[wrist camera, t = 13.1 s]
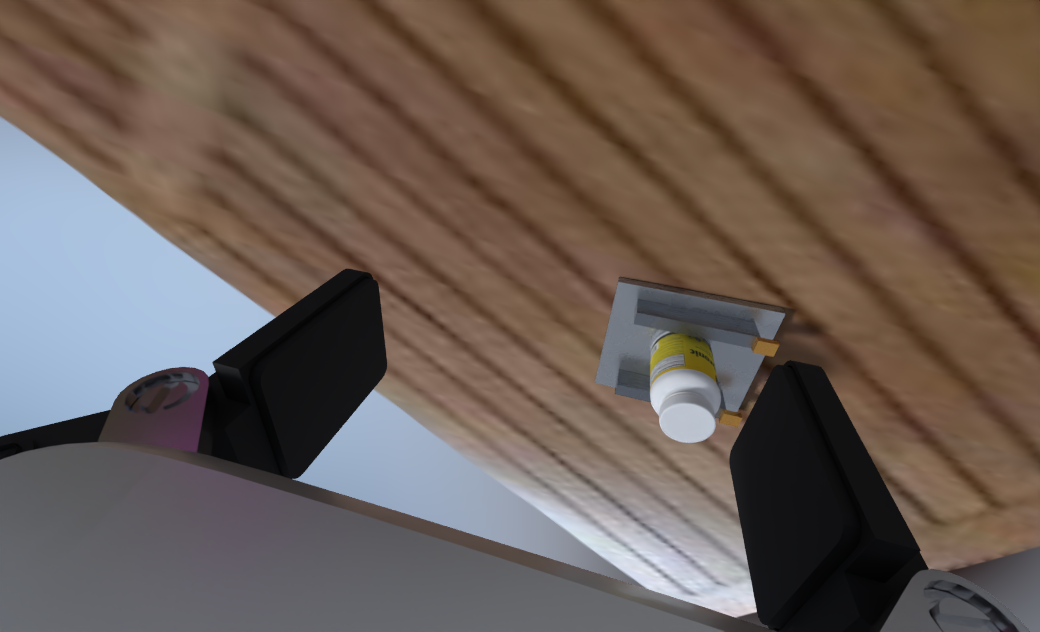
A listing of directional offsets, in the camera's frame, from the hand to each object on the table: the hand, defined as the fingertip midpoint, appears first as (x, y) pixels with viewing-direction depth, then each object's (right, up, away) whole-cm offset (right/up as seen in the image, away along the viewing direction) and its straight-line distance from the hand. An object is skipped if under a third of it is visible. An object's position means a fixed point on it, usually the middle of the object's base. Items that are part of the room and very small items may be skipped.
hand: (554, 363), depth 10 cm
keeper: (+14, -2, +31) cm, 34 cm away
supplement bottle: (+14, -2, +30) cm, 33 cm away
